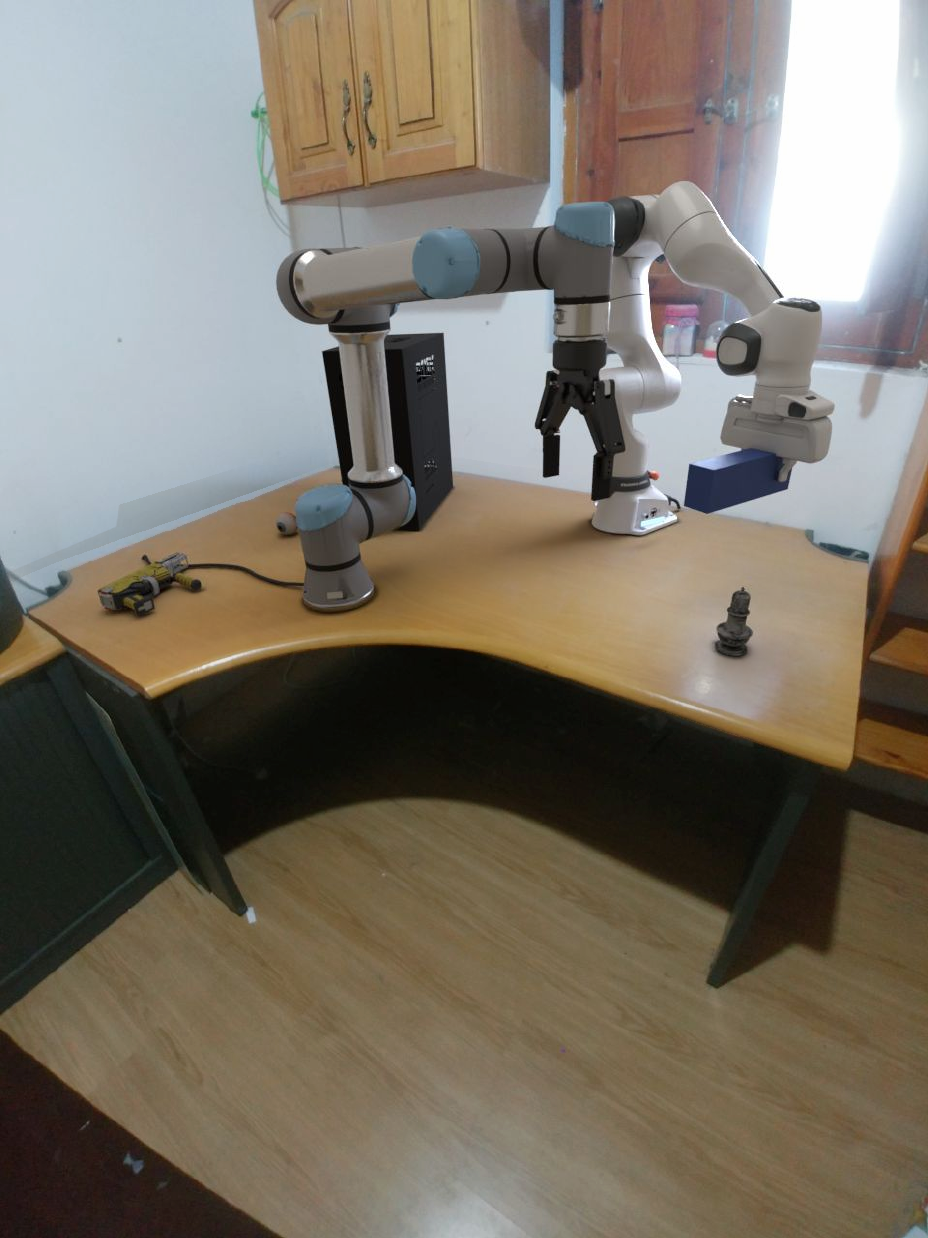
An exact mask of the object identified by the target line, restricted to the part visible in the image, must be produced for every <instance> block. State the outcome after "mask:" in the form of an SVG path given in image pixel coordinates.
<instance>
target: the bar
mask: <svg viewBox="0 0 928 1238" xmlns="http://www.w3.org/2000/svg"><path fill="white" fill-rule="evenodd" d="M782 462H783V458H782V457H778V456H776V453H771V452H766V451H762V450H757V449H753V448H749V449H745V450H741V449H740V450H739V451H738V450H737V451H734V452H730V453H726V454H722V455H718V456H714V457H710V458H706V459H702V460H699V461H694V462H691V463H688V471H687V477H686V478H687V480H686V485H685V493H684V494H685V495H684V501H683V507H685V508H688V509H690V510H694V511H696V512H700V513H703V514H706V515H708V514H712V513H716V512H719V511H722V510H725V509H728V508H731V507H735V506H739V505H742V504H744V503H748V502H751V501H754V500H757V499H761V498H764V497H767V496H771V495H774V494H777V493H780V492H784V491H786V490H789V485H790V480H791V476H792V472H793V467H792V468H791V470H790V471H788V475H787V479H786V481H783V482H780V481H776V480H774V477H775V471H779V470H781V469H782V468H783V466H784V465H785V464H783V463H782Z"/></svg>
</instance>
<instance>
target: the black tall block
mask: <svg viewBox="0 0 928 1238" xmlns="http://www.w3.org/2000/svg"><path fill="white" fill-rule="evenodd" d="M384 350H385V362H386V373H387V384H388V395H389V406H390V417H391V429H392V440H393V451H394V462H395V464H396V465H398V466H399V467H400V468H401V469H402V472H403V475H405V476H406V477H407V478H408V479H409V480H410V482H411V487H413V488H414V491H415V495H416V508H415V512H414V515H413V517H412V518H411V520H410V521H409V522H408V523H406V524H405V525H403V526H401V527H399V528H398V529H396V530H395V531H416V532H417V531H418V532H419V531H421V529H422V528H423V527H424V526H425V524H426V523H427V522H428V520H429V519H430V518H431V516H433V514H434V513H435V511H436V510H437V508H439V506H440V505H441V503H442V502H443V501H444V499H445V498H446V497H447V496H448V494H449V493H450V492H451V490H452V489H453V488H454V480H453V479H454V477H453V463H452V462H453V461H452V447H451V446H452V445H451V429H450V414H449V413H450V411H449V396H448V381H447V366H446V365H447V364H446V350H445V333H444V332H426V333H400V334H399V333H397V334H395V333H394V334H387V336H386V337H385V339H384ZM321 355H322V361H323V367H324V375H325V380H326V386H327V393H328V399H329V405H330V412H331V419H332V425H333V431H334V437H335V445H336V451H337V457H338V464H339V470H340V477H341V484H343V485H346V486H348V487H349V481H348V473H349V471H350V470H351V469H352V468H353V466H354V463H353V455H352V447H351V439H350V431H349V423H348V415H347V407H346V399H345V391H344V383H343V375H342V367H341V359H340V351H339V345H338V346H335V347H332V348H328V349H324V350H322V351H321ZM418 363H419V364H418ZM417 364H418V365H417Z"/></svg>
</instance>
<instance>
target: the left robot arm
mask: <svg viewBox="0 0 928 1238" xmlns="http://www.w3.org/2000/svg"><path fill="white" fill-rule="evenodd" d="M606 202H607V201H586V202H583V201H582V202H574V203H568V204H563V205H560V206H559V207H557V209H556V211H555V215H554V216H555V217H554V223H553V224H551V225H548V226H540V227H528V228H527V227H525V228H458V227H456V226H449V227H441V228H436V229H429V230H427V231H426V232H424V233H423V234H422V235H421V236H420V235H419V236H415V237H410V238H405V239H401V240H396V241H390V242H386V243H380V244H377V245H371V246H368V247H366V246H365V247H363V246H352V247H329V248H328V247H325V248H304V249H299V250H296V251H294V252H292V253H290V254H289V255H287V256H286V257H285V258H284V259H283V260H282V262H281V263H280V265H279V267H278V270H277V273H276V278H275V279H276V280H275V285H276V292H277V295H278V299H279V301H280V303H281V305H282V306H283V307H284V309H285V311H287V312H288V313H289V315H291V316H292V317H293V318H295V319H296V320H298V321H300V322H302V323H304V324H305V323H306V324H309V325H316V326H317V325H318V326H323V325H327V328H328V334H329V335H330V336H331V337H333V339H334V340H336V342H337V343H338V346H339V351H340V359H341V367H342V375H343V383H344V391H345V399H346V407H347V415H348V423H349V431H350V439H351V447H352V455H353V463H354V466H353V468H352V469H351V470H350V471H349V473H348V481H349V487H348V486H346V485H343V484H342V483H329V484H327V485H319V486H316V487H313V488H311V489H309V490H307V491H305V492H304V493H302V494H301V495H299V497H298V498H297V500H296V502H295V504H294V515H295V516H296V525H297V527H298V529H297V531H298V535H299V540H300V546H301V549H302V555H303V560H304V564H305V574H304V581H303V582H295V581H293V582H292V581H282V580H277V579H273V578H270V577H267V576H264V575H261V574H259V573H257V572H255V571H254V570H252V569H250V568H248V567H245V566H242V565H238V564H237V565H236V564H230V563H217V562H216V563H213V562H212V563H210V562H209V563H207V562H206V563H188V568H209V567H212V568H213V567H214V568H229V569H230V568H231V569H237V570H241V571H243V572H247V573H249V574H251V575H252V576H254V577H256V578H258V579H261V580H263V581H266V582H269V583H272V584H276V585H281V586H287V587H289V586H290V587H303V588H302V598H303V602H304V603H303V604H304V605H305V606H306V607H307V608H308V609H310V610H312V611H315V612H319V613H328V614H329V613H330V614H331V613H342V612H347V611H350V610H354V609H356V608H359V607H361V606H364V605H365V604H367V603H368V602H369V601H371V600H372V598H373V597H374V595H375V584H374V581H373V579H372V578H371V576H370V575H369V573H368V571H367V568H366V567H365V564H364V562H363V559H362V556H361V547H360V544H362V543H364V542H368V541H369V540H371V539H374V538H377V537H379V536H382V535H384V534H387V533H390V532H394V531H397V530H396V529H398V528H399V527H401V526H403V525H405V524H406V523H408V522H409V521H410V520H411V518H412V517H413V515H414V512H415V508H416V495H415V491H414V488H413V487H411V482H410V480H409V479H408V478H407V477H406V476H405V475H403V472H402V469H401V468H400V467H399V466H398V465H396V464H395V462H394V451H393V440H392V429H391V417H390V406H389V395H388V384H387V373H386V362H385V350H384V339H385V337H386V336H387V335H389V333H390V332H391V330H392V329H391V328H392V327H391V318H392V317H393V316H394V315H395V314H396V313H397V312H398V310H399V306H400V305H401V304H404V303H405V304H406V303H415V302H424V301H433V300H453V299H459V298H465V297H466V298H467V297H472V296H473V297H474V296H481V295H494V294H504V293H505V294H507V293H515V292H530V291H553V315H552V319H553V331H552V332H553V334H552V335H553V336H555V337H557V339H555V340H554V342H553V343H552V360H551V361H552V368H553V370H547V371H546V374H545V384H544V385H545V386H544V389H543V393H542V396H541V400H540V403H539V407H538V411H537V414H536V418H535V421H534V429H535V430H539V431H540V432H539V433H540V435H541V436H542V478H543V479H547V478H552V477H557V476H560V462H561V461H560V458H561V457H560V455H561V435H560V433H561V431H560V427H561V426H562V424H563V422H564V420H565V418H566V417H567V415H568V413H569V412H570V410H571V408H572V409H574V410H576V411H578V413H579V415H580V416H583V418H584V421H585V424H586V426H587V429H588V432H589V435H590V437H591V440H592V442H593V446H594V447H595V451H596V453H594V454H593V456H592V457H593V459H592V473H591V475H592V476H591V490H590V491H591V492H590V501H592V502H598V500H602V499H607V498H609V494H610V480H611V477H612V474H613V460H614V455H615V454H618V453H623V452H625V449H626V448H625V443H624V438H623V433H622V428H621V423H620V419H619V414H618V409H617V404H616V400H615V381H614V380H613V379H608V380H601V381H600V377H599V371H600V370H602V369H604V368H605V366H607V361H608V359H607V358H608V347H607V344H608V341H606V339H605V338H603V337H604V335H606V334H607V333H608V332H609V316H610V286H611V273H612V260H613V249H614V246H615V241H614V209H613V207H612V206H611V205H610V204H609V203H606ZM592 403H594V404H592ZM615 443H616V445H615ZM603 445H605V447H604V446H603ZM141 560H144V561H145V562H146V564H147V566H148V565H150V564H152V563H153V562H151V561H150V558H148V556H147V554H143V555H142V556H141ZM186 564H187V563H184V565H186ZM177 566H180V564H179V565H177ZM181 566H183V565H181Z"/></svg>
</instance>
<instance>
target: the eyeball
mask: <svg viewBox="0 0 928 1238" xmlns="http://www.w3.org/2000/svg"><path fill="white" fill-rule="evenodd" d="M275 527H276V529H277V530H278V531H279V532H280V533H281V534H282V535H285V536H286V535H287V536H289V535H293V534H295V533H296V532H297V531H298V527H297V525H296V514H295V513H292V512H287V511H286V512H282V513H280V514H279V515H278V516H277V517H276V520H275Z"/></svg>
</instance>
